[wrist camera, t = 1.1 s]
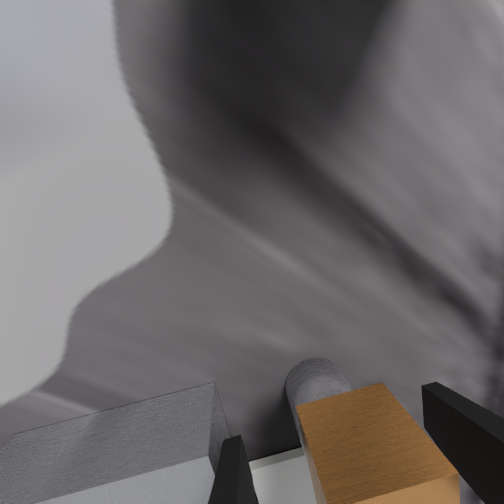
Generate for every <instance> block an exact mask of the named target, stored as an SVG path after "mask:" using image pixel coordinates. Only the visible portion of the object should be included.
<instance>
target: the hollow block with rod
mask: <svg viewBox="0 0 504 504" xmlns="http://www.w3.org/2000/svg"><path fill="white" fill-rule="evenodd" d="M227 438H231V436H230V432H229V429H228V426H227V422H226V419H225V416H224V412H223V409H222V406H221V402H220V399H219V396H218V393H217V389H216V386H215V383H210V384H206V385H202V386H198V387H194V388H191V389H187V390H183V391H179V392H175V393H171V394H168V395H164V396H160V397H156V398H152V399H148V400H145V401H141V402H137V403H133V404H129V405H125V406H122V407H118V408H114V409H110V410H106V411H102V412H99V413H95V414H91V415H87V416H83V417H79V418H76V419H72V420H68V421H64V422H60V423H56V424H53V425H49V426H45V427H41V428H37V429H33V430H30V431H26V432H22V433H18V434H14V435H13V436H12V437H11V438H10V440H9V441H8V442H7V443H6V444H5V445H4V446H3V447H2V448H1V449H0V504H208V501H209V497H210V494H211V490H212V486H213V482H214V478H215V475H216V471H217V466H218V462H219V458H220V453H221V448H222V443H223V441H224V440H225V439H227Z"/></svg>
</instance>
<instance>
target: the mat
mask: <svg viewBox="0 0 504 504" xmlns="http://www.w3.org/2000/svg"><path fill="white" fill-rule="evenodd" d="M249 466H250V469H251V473H252V477H253V485H254V488H255V492H256V495H257V498H258V502H259V504H317V503H316V498H315V494H314V489H313V484H312V480H311V475H310V471H309V468H308V465H307V461H306V458H305V455H304V451H303V448H302V447H301V448H297V449H294V450H290V451H286V452H283V453H279V454H276V455H272V456H269V457H265V458H261V459H258V460H254V461H251V462H249Z"/></svg>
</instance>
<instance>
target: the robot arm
mask: <svg viewBox="0 0 504 504" xmlns="http://www.w3.org/2000/svg"><path fill="white" fill-rule="evenodd" d="M422 401H423V416H424V428H425V429H426V431H427V432H428V433H429V435H430V436H431V438H432V439H433V441H434V442H435V443H436V445H437V446H438V448H439V449H440V450H441V452H442V453H443V454H444V456H445V457H446V458H447V459H448V460H449V462H450V463H451V464H452V465H453V466H454V467H455V469H456V470H457V471H458V472H459V474H460V475H461V476H462V477H463V479H464V480H465V481H466V482H467V483H468V485H469V486H470V487H471V488H472V489H473V490H474V492H475V493H476V494H477V495H478V496H479V497H480V498H481V500H482V501H483V502H484V503H485V504H504V418H502V417H500V416H498V415H496V414H494V413H493V412H491V411H489V410H487V409H485V408H483V407H482V406H480V405H478V404H476V403H474V402H472V401H471V400H469V399H467V398H465V397H463V396H462V395H460V394H458V393H456V392H454V391H453V390H451V389H449V388H447V387H445V386H443V385H442V384H440V383H438V382H433V383H430V384H426V385H422ZM208 504H256V503H255V494H254V485H253V477H252V473H251V469H250V466H249V462H248V459H247V455H246V452H245V448H244V445H243V441H242V438H241V435H238V436H235V437H231V438H227V439H225V440H224V441H223V443H222V448H221V453H220V458H219V462H218V466H217V471H216V475H215V478H214V482H213V486H212V490H211V494H210V497H209V501H208Z"/></svg>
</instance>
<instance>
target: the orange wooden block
mask: <svg viewBox="0 0 504 504" xmlns="http://www.w3.org/2000/svg"><path fill="white" fill-rule="evenodd" d="M285 390H286V394H287V398H288V401H289V404H290V408H291V411H292V414H293V418H294V421H295V424H296V428H297V431H298V434H299V438H300V441H301V445H302V448H303V451H304V455H305V458H306V461H307V465H308V468H309V471H310V475H311V480H312V484H313V489H314V494H315V498H316V503H317V504H460V491H459V472H458V471H457V470H456V469H455V467H454V466H453V465H452V464H451V463H450V462H449V460H448V459H447V458H446V457H445V456H444V455H443V453H442V452H441V451H440V450H439V449H438V448H437V446H436V445H435V444H434V443H433V442H432V440H431V439H430V438H429V437H428V436H427V435H426V433H425V432H424V431H423V430H422V429H421V428H420V426H419V425H418V424H417V423H416V422H415V421H414V419H413V418H412V417H411V416H410V415H409V414H408V412H407V411H406V410H405V409H404V408H403V406H402V405H401V404H400V403H399V402H398V401H397V399H396V398H395V397H394V396H393V395H392V394H391V392H390V391H389V390H388V389H387V388H386V387H385V385H384V384H383V383H379V384H375V385H371V386H367V387H364V388H360V389H356V390H352V388H351V387H350V385H349V384H348V382H347V381H346V379H345V378H344V376H343V375H342V373H341V372H340V370H339V369H338V367H337V366H336V365H335V364H334V363H332V362H331V361H329V360H326V359H322V358H313V359H308V360H305V361H303V362H301V363H299V364H298V365H296V366H295V367H294V368H293V369H292V370H291V372H290V373H289V375H288V377H287V379H286V383H285Z"/></svg>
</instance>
